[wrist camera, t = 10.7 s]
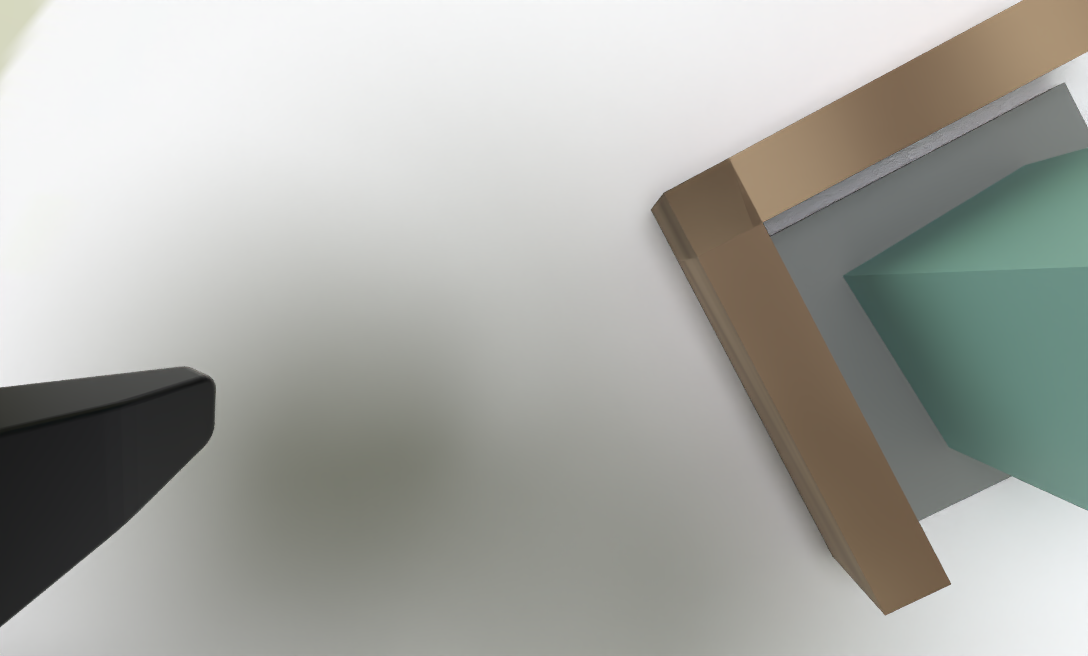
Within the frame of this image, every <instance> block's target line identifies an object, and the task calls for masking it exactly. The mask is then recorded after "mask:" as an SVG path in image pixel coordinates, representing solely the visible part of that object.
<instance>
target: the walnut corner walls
mask: <svg viewBox="0 0 1088 656" xmlns="http://www.w3.org/2000/svg"><path fill="white" fill-rule="evenodd" d="M1086 52H1088V0H1023V1H1021V2H1019V3H1017V4H1015V5H1013V6H1011V7H1010V8H1008V9H1006V10H1004V11H1002V12H1000V13H998V14H997V15H995V16H993V17H991V18H989V19H987V20H985V21H983V22H982V23H980V24H978V25H976V26H974V27H972V28H970V29H969V30H967V31H965V32H963V33H961V34H959V35H957V36H956V37H954V38H952V39H950V40H948V41H946V42H944V43H942V44H941V45H939V46H937V47H935V48H933V49H931V50H929V51H928V52H926V53H924V54H922V55H920V56H918V57H916V58H914V59H913V60H911V61H909V62H907V63H905V64H903V65H901V66H900V67H898V68H896V69H894V70H892V71H890V72H888V73H886V74H885V75H883V76H881V77H879V78H877V79H875V80H873V81H872V82H870V83H868V84H866V85H864V86H862V87H860V88H859V89H857V90H855V91H853V92H851V93H849V94H847V95H845V96H844V97H842V98H840V99H838V100H836V101H834V102H832V103H831V104H829V105H827V106H825V107H823V108H821V109H819V110H817V111H816V112H814V113H812V114H810V115H808V116H806V117H804V118H803V119H801V120H799V121H797V122H795V123H793V124H791V125H790V126H788V127H786V128H784V129H782V130H780V131H778V132H776V133H775V134H773V135H771V136H769V137H767V138H765V139H763V140H762V141H760V142H758V143H756V144H754V145H752V146H750V147H748V148H747V149H745V150H743V151H741V152H739V153H737V154H735V155H734V156H732V157H730V158H728V159H726V160H724V161H722V162H721V163H719V164H717V165H715V166H713V167H711V168H709V169H707V170H706V171H704V172H702V173H700V174H698V175H696V176H694V177H693V178H691V179H689V180H687V181H685V182H683V183H681V184H679V185H678V186H676V187H674V188H672V189H670V190H668V191H666V192H665V193H663V195H662V196H661V197H660V198H659V200H658V201H657V202H656V204H655V205H654V206H653V208H652V209H651V211H652V213H653V214H654V216H655V218H656V220H657V222H658V224H659V226H660V228H661V230H662V232H663V234H664V235H665V237H666V239H667V241H668V243H669V245H670V247H671V249H672V251H673V253H674V255H675V256H676V258H677V260H678V262H679V264H680V266H681V268H682V270H683V272H684V274H685V275H686V277H687V279H688V281H689V283H690V285H691V287H692V289H693V291H694V293H695V295H696V296H697V298H698V300H699V302H700V304H701V306H702V308H703V310H704V312H705V314H706V316H707V317H708V319H709V321H710V323H711V325H712V327H713V329H714V331H715V333H716V335H717V336H718V338H719V340H720V342H721V344H722V346H723V348H724V350H725V352H726V354H727V356H728V357H729V359H730V361H731V363H732V365H733V367H734V369H735V371H736V373H737V375H738V377H739V378H740V380H741V382H742V384H743V386H744V388H745V390H746V392H747V394H748V396H749V397H750V399H751V401H752V403H753V405H754V407H755V409H756V411H757V413H758V415H759V417H760V418H761V420H762V422H763V424H764V426H765V428H766V430H767V432H768V434H769V436H770V438H771V439H772V441H773V443H774V445H775V447H776V449H777V451H778V453H779V455H780V457H781V458H782V460H783V462H784V464H785V466H786V468H787V470H788V472H789V474H790V476H791V478H792V479H793V481H794V483H795V485H796V487H797V489H798V491H799V493H800V495H801V497H802V499H803V500H804V502H805V504H806V506H807V508H808V510H809V512H810V514H811V516H812V518H813V519H814V521H815V523H816V525H817V527H818V529H819V531H820V533H821V535H822V537H823V539H824V540H825V542H826V544H827V546H828V548H829V550H830V552H831V554H832V556H833V557H834V558H835V559H836V560H837V562H838V563H839V564H840V565H841V566H842V567H843V568H844V570H845V571H846V572H847V573H848V574H849V575H850V576H851V577H852V579H853V580H854V581H855V582H856V583H857V584H858V585H859V586H860V588H861V589H862V590H863V591H864V592H865V593H866V594H867V595H868V597H869V598H870V599H871V600H872V601H873V602H874V603H875V605H876V606H877V607H878V608H879V609H880V610H881V611H882V612H883V614H884V615H887V614H889V613H891V612H894V611H896V610H898V609H900V608H902V607H904V606H906V605H908V604H911V603H913V602H915V601H917V600H919V599H921V598H923V597H925V596H927V595H930V594H932V593H934V592H936V591H938V590H940V589H942V588H944V587H947V586H949V585H951V583H950V581H949V579H948V577H947V575H946V573H945V571H944V569H943V567H942V565H941V563H940V562H939V560H938V558H937V556H936V554H935V552H934V550H933V548H932V546H931V544H930V542H929V540H928V539H927V537H926V535H925V533H924V531H923V529H922V527H921V525H920V523H919V521H918V519H917V517H916V516H915V514H914V512H913V510H912V508H911V506H910V504H909V502H908V500H907V498H906V496H905V494H904V493H903V491H902V489H901V487H900V485H899V483H898V481H897V479H896V477H895V475H894V473H893V471H892V470H891V468H890V466H889V464H888V462H887V460H886V458H885V456H884V454H883V452H882V450H881V448H880V447H879V445H878V443H877V441H876V439H875V437H874V435H873V433H872V431H871V429H870V427H869V425H868V424H867V422H866V420H865V418H864V416H863V414H862V412H861V410H860V408H859V406H858V404H857V402H856V400H855V399H854V397H853V395H852V393H851V391H850V389H849V387H848V385H847V383H846V381H845V379H844V377H843V376H842V374H841V372H840V370H839V368H838V366H837V364H836V362H835V360H834V358H833V356H832V354H831V353H830V351H829V349H828V347H827V345H826V343H825V341H824V339H823V337H822V335H821V333H820V331H819V330H818V328H817V326H816V324H815V322H814V320H813V318H812V316H811V314H810V312H809V310H808V308H807V307H806V305H805V303H804V301H803V299H802V297H801V295H800V293H799V291H798V289H797V287H796V285H795V284H794V282H793V280H792V278H791V276H790V274H789V272H788V270H787V268H786V266H785V264H784V262H783V261H782V259H781V257H780V255H779V253H778V251H777V249H776V247H775V245H774V243H773V241H772V239H771V238H770V236H769V234H768V232H767V230H766V228H765V226H764V224H763V222H765V221H767V220H769V219H770V218H772V217H774V216H776V215H778V214H780V213H782V212H784V211H786V210H788V209H789V208H791V207H793V206H795V205H797V204H799V203H801V202H803V201H805V200H807V199H808V198H810V197H812V196H814V195H816V194H818V193H820V192H822V191H824V190H826V189H827V188H829V187H831V186H833V185H835V184H837V183H839V182H841V181H843V180H845V179H846V178H848V177H850V176H852V175H854V174H856V173H858V172H860V171H862V170H864V169H865V168H867V167H869V166H871V165H873V164H875V163H877V162H879V161H881V160H883V159H884V158H886V157H888V156H890V155H892V154H894V153H896V152H898V151H900V150H902V149H903V148H905V147H907V146H909V145H911V144H913V143H915V142H917V141H919V140H921V139H922V138H924V137H926V136H928V135H930V134H932V133H934V132H936V131H938V130H940V129H941V128H943V127H945V126H947V125H949V124H951V123H953V122H955V121H957V120H959V119H960V118H962V117H964V116H966V115H968V114H970V113H972V112H974V111H976V110H978V109H979V108H981V107H983V106H985V105H987V104H989V103H991V102H993V101H995V100H997V99H998V98H1000V97H1002V96H1004V95H1006V94H1008V93H1010V92H1012V91H1014V90H1016V89H1017V88H1019V87H1021V86H1023V85H1025V84H1027V83H1029V82H1031V81H1033V80H1035V79H1036V78H1038V77H1040V76H1042V75H1044V74H1046V73H1048V72H1050V71H1052V70H1054V69H1055V68H1057V67H1059V66H1061V65H1063V64H1065V63H1067V62H1069V61H1071V60H1073V59H1074V58H1076V57H1078V56H1080V55H1082V54H1084V53H1086Z"/></svg>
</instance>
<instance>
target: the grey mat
mask: <svg viewBox="0 0 1088 656" xmlns="http://www.w3.org/2000/svg"><path fill="white" fill-rule="evenodd" d="M1085 148H1088V127H1087V125H1086V123H1085V121H1084V119H1083V117H1082V116H1081V114H1080V112H1079V110H1078V108H1077V106H1076V104H1075V102H1074V100H1073V98H1072V96H1071V94H1070V92H1069V90H1068V88H1067V86H1066V84H1065V83H1063V84H1060V85H1058V86H1056V87H1054V88H1052V89H1050V90H1048V91H1046V92H1044V93H1043V94H1041V95H1039V96H1037V97H1035V98H1033V99H1031V100H1029V101H1027V102H1025V103H1023V104H1022V105H1020V106H1018V107H1016V108H1014V109H1012V110H1010V111H1008V112H1006V113H1004V114H1002V115H1001V116H999V117H997V118H995V119H993V120H991V121H989V122H987V123H985V124H983V125H981V126H980V127H978V128H976V129H974V130H972V131H970V132H968V133H966V134H964V135H962V136H960V137H959V138H957V139H955V140H953V141H951V142H949V143H947V144H945V145H943V146H941V147H940V148H938V149H936V150H934V151H932V152H930V153H928V154H926V155H924V156H922V157H920V158H919V159H917V160H915V161H913V162H911V163H909V164H907V165H905V166H903V167H901V168H899V169H898V170H896V171H894V172H892V173H890V174H888V175H886V176H884V177H882V178H880V179H878V180H877V181H875V182H873V183H871V184H869V185H867V186H865V187H863V188H861V189H859V190H857V191H856V192H854V193H852V194H850V195H848V196H846V197H844V198H842V199H840V200H838V201H836V202H835V203H833V204H831V205H829V206H827V207H825V208H823V209H821V210H819V211H817V212H815V213H814V214H812V215H810V216H808V217H806V218H804V219H802V220H800V221H798V222H796V223H794V224H793V225H791V226H789V227H787V228H785V229H783V230H781V231H779V232H777V233H775V234H774V235H772V236H770V238H771V239H772V241H773V243H774V245H775V247H776V249H777V251H778V253H779V255H780V257H781V259H782V261H783V262H784V264H785V266H786V268H787V270H788V272H789V274H790V276H791V278H792V280H793V282H794V284H795V285H796V287H797V289H798V291H799V293H800V295H801V297H802V299H803V301H804V303H805V305H806V307H807V308H808V310H809V312H810V314H811V316H812V318H813V320H814V322H815V324H816V326H817V328H818V330H819V331H820V333H821V335H822V337H823V339H824V341H825V343H826V345H827V347H828V349H829V351H830V353H831V354H832V356H833V358H834V360H835V362H836V364H837V366H838V368H839V370H840V372H841V374H842V376H843V377H844V379H845V381H846V383H847V385H848V387H849V389H850V391H851V393H852V395H853V397H854V399H855V400H856V402H857V404H858V406H859V408H860V410H861V412H862V414H863V416H864V418H865V420H866V422H867V424H868V425H869V427H870V429H871V431H872V433H873V435H874V437H875V439H876V441H877V443H878V445H879V447H880V448H881V450H882V452H883V454H884V456H885V458H886V460H887V462H888V464H889V466H890V468H891V470H892V471H893V473H894V475H895V477H896V479H897V481H898V483H899V485H900V487H901V489H902V491H903V493H904V494H905V496H906V498H907V500H908V502H909V504H910V506H911V508H912V510H913V512H914V514H915V516H916V517H917V519H918V521H920V520H922V519H924V518H926V517H928V516H930V515H932V514H934V513H936V512H938V511H941V510H943V509H945V508H947V507H949V506H951V505H953V504H955V503H957V502H959V501H961V500H963V499H965V498H968V497H970V496H972V495H974V494H976V493H978V492H980V491H982V490H984V489H986V488H988V487H990V486H992V485H995V484H997V483H999V482H1001V481H1003V480H1005V479H1007V478H1009V477H1011V475H1009V474H1006V473H1004V472H1002V471H1000V470H998V469H995V468H993V467H991V466H989V465H987V464H984V463H982V462H980V461H978V460H976V459H973V458H971V457H969V456H967V455H965V454H962V453H960V452H958V451H956V450H954V449H951V448H949V447H948V445H947V443H946V442H945V440H944V439H943V437H942V435H941V434H940V432H939V431H938V429H937V427H936V426H935V424H934V423H933V421H932V419H931V418H930V416H929V414H928V413H927V411H926V410H925V408H924V406H923V405H922V403H921V402H920V400H919V398H918V397H917V395H916V393H915V392H914V390H913V389H912V387H911V385H910V384H909V382H908V381H907V379H906V377H905V376H904V374H903V372H902V371H901V369H900V368H899V366H898V364H897V363H896V361H895V360H894V358H893V356H892V355H891V353H890V351H889V350H888V348H887V347H886V345H885V343H884V342H883V340H882V339H881V337H880V335H879V334H878V332H877V331H876V329H875V327H874V326H873V324H872V322H871V321H870V319H869V318H868V316H867V314H866V313H865V311H864V310H863V308H862V306H861V305H860V303H859V301H858V300H857V298H856V297H855V295H854V293H853V292H852V290H851V289H850V287H849V285H848V284H847V282H846V280H845V279H844V277H843V275H845V274H847V273H848V272H850V271H852V270H853V269H855V268H856V267H858V266H860V265H861V264H863V263H865V262H866V261H868V260H870V259H871V258H873V257H875V256H876V255H878V254H880V253H881V252H883V251H884V250H886V249H888V248H889V247H891V246H893V245H894V244H896V243H898V242H899V241H901V240H903V239H904V238H906V237H907V236H909V235H911V234H912V233H914V232H916V231H917V230H919V229H921V228H922V227H924V226H926V225H927V224H929V223H931V222H932V221H934V220H935V219H937V218H939V217H940V216H942V215H944V214H945V213H947V212H949V211H950V210H952V209H954V208H955V207H957V206H958V205H960V204H962V203H963V202H965V201H967V200H968V199H970V198H972V197H973V196H975V195H977V194H978V193H980V192H981V191H983V190H985V189H986V188H988V187H990V186H991V185H993V184H995V183H996V182H998V181H1000V180H1001V179H1003V178H1005V177H1006V176H1008V175H1009V174H1011V173H1013V172H1014V171H1016V170H1018V169H1019V168H1021V167H1023V166H1024V165H1027V164H1031V163H1034V162H1038V161H1042V160H1045V159H1049V158H1052V157H1056V156H1060V155H1063V154H1067V153H1070V152H1074V151H1078V150H1081V149H1085Z"/></svg>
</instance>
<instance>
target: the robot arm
mask: <svg viewBox="0 0 1088 656" xmlns="http://www.w3.org/2000/svg"><path fill="white" fill-rule="evenodd" d="M215 397H216V386H215V383H214V381H213V379H212V378H211V377H210V376H208V375H206V374H204V373H201V372H199V371H197V370H195V369H193V368H190V367H185V366H184V367H174V368H165V369H157V370H148V371H139V372H131V373H122V374H113V375H105V376H96V377H87V378H79V379H70V380H61V381H53V382H44V383H35V384H27V385H18V386H9V387H1V388H0V627H1V626H2V625H4V624H5V623H6V622H7V621H9V620H10V619H11V618H12V617H13V616H15V615H16V614H17V613H18V612H19V611H21V610H22V609H23V608H24V607H26V606H27V605H28V604H29V603H30V602H32V601H33V600H34V599H35V598H37V597H38V596H39V595H40V594H41V593H43V592H44V591H45V590H46V589H47V588H49V587H50V586H51V585H52V584H54V583H55V582H56V581H57V580H58V579H60V578H61V577H62V576H63V575H65V574H66V573H67V572H68V571H69V570H71V569H72V568H73V567H74V566H75V565H77V564H78V563H79V562H80V561H82V560H83V559H84V558H85V557H86V556H88V555H89V554H90V553H91V552H93V551H94V550H95V549H96V548H97V547H99V546H100V545H101V544H102V543H103V542H105V541H106V540H107V539H108V538H110V537H111V536H112V535H113V534H114V533H115V532H117V531H118V530H119V529H120V528H121V527H122V526H124V525H125V524H126V523H127V522H128V521H129V520H130V519H131V518H132V517H133V516H134V515H135V514H136V513H137V512H139V511H140V510H141V509H142V508H143V507H144V506H145V505H146V504H147V503H148V502H149V501H150V500H151V499H152V498H153V497H154V496H155V495H156V494H157V493H158V492H159V491H160V490H161V489H162V488H163V487H164V486H165V485H166V484H167V483H168V482H169V481H170V480H171V479H172V478H173V477H174V476H175V475H176V474H177V473H178V472H179V471H180V470H181V469H182V468H183V467H184V466H185V465H186V464H187V463H188V462H189V461H190V460H191V459H192V458H193V457H194V456H195V455H196V454H197V453H198V452H199V451H200V450H201V449H202V448H203V447H204V446H205V445H206V444H207V442H208V441H209V440H210V438H211V436H212V434H213V430H214V425H215Z"/></svg>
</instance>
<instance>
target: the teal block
mask: <svg viewBox="0 0 1088 656" xmlns="http://www.w3.org/2000/svg"><path fill="white" fill-rule="evenodd" d="M843 277H844V279H845V280H846V282H847V284H848V285H849V287H850V289H851V290H852V292H853V293H854V295H855V297H856V298H857V300H858V301H859V303H860V305H861V306H862V308H863V310H864V311H865V313H866V314H867V316H868V318H869V319H870V321H871V322H872V324H873V326H874V327H875V329H876V331H877V332H878V334H879V335H880V337H881V339H882V340H883V342H884V343H885V345H886V347H887V348H888V350H889V351H890V353H891V355H892V356H893V358H894V360H895V361H896V363H897V364H898V366H899V368H900V369H901V371H902V372H903V374H904V376H905V377H906V379H907V381H908V382H909V384H910V385H911V387H912V389H913V390H914V392H915V393H916V395H917V397H918V398H919V400H920V402H921V403H922V405H923V406H924V408H925V410H926V411H927V413H928V414H929V416H930V418H931V419H932V421H933V423H934V424H935V426H936V427H937V429H938V431H939V432H940V434H941V435H942V437H943V439H944V440H945V442H946V443H947V445H948V447H949V448H951V449H954V450H956V451H958V452H960V453H962V454H965V455H967V456H969V457H971V458H973V459H976V460H978V461H980V462H982V463H984V464H987V465H989V466H991V467H993V468H995V469H998V470H1000V471H1002V472H1004V473H1006V474H1009V475H1011V476H1013V477H1015V478H1017V479H1020V480H1022V481H1024V482H1026V483H1028V484H1031V485H1033V486H1035V487H1037V488H1039V489H1042V490H1044V491H1046V492H1048V493H1050V494H1053V495H1055V496H1057V497H1059V498H1061V499H1063V500H1066V501H1068V502H1070V503H1072V504H1074V505H1077V506H1079V507H1081V508H1083V509H1085V510H1088V148H1085V149H1081V150H1078V151H1074V152H1070V153H1067V154H1063V155H1060V156H1056V157H1052V158H1049V159H1045V160H1042V161H1038V162H1034V163H1031V164H1027V165H1024V166H1023V167H1021V168H1019V169H1018V170H1016V171H1014V172H1013V173H1011V174H1009V175H1008V176H1006V177H1005V178H1003V179H1001V180H1000V181H998V182H996V183H995V184H993V185H991V186H990V187H988V188H986V189H985V190H983V191H981V192H980V193H978V194H977V195H975V196H973V197H972V198H970V199H968V200H967V201H965V202H963V203H962V204H960V205H958V206H957V207H955V208H954V209H952V210H950V211H949V212H947V213H945V214H944V215H942V216H940V217H939V218H937V219H935V220H934V221H932V222H931V223H929V224H927V225H926V226H924V227H922V228H921V229H919V230H917V231H916V232H914V233H912V234H911V235H909V236H907V237H906V238H904V239H903V240H901V241H899V242H898V243H896V244H894V245H893V246H891V247H889V248H888V249H886V250H884V251H883V252H881V253H880V254H878V255H876V256H875V257H873V258H871V259H870V260H868V261H866V262H865V263H863V264H861V265H860V266H858V267H856V268H855V269H853V270H852V271H850V272H848V273H847V274H845V275H843Z"/></svg>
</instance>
